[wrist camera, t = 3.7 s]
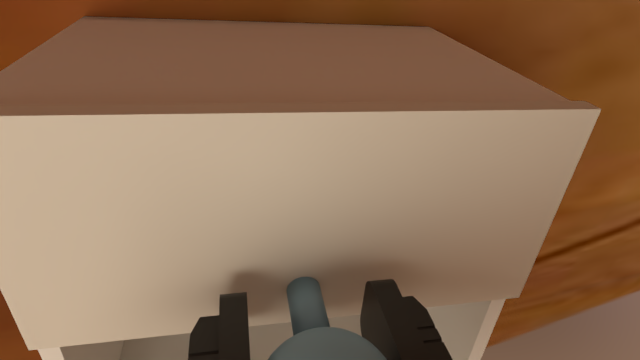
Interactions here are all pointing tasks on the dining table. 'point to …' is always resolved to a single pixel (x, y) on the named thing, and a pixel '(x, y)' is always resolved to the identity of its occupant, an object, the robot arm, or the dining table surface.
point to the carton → (263, 87)
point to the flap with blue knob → (271, 212)
